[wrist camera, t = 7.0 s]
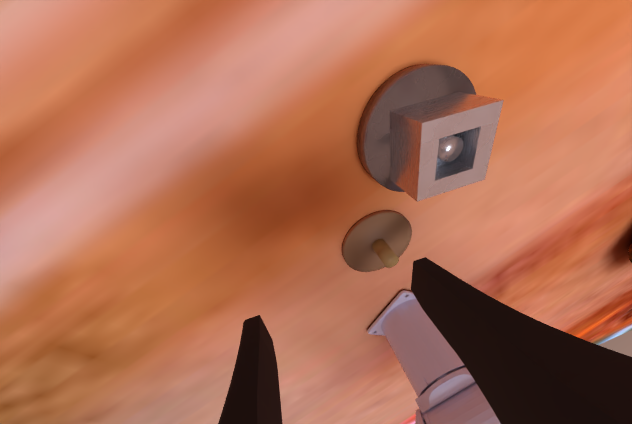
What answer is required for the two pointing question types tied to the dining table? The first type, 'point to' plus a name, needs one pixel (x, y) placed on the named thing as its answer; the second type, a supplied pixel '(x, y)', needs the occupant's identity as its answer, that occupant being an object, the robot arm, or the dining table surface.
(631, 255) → the decorative pumpkin
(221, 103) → the dining table surface
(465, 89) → the hub
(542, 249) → the dining table surface
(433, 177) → the square tube sleeve
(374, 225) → the stand
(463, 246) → the dining table surface
